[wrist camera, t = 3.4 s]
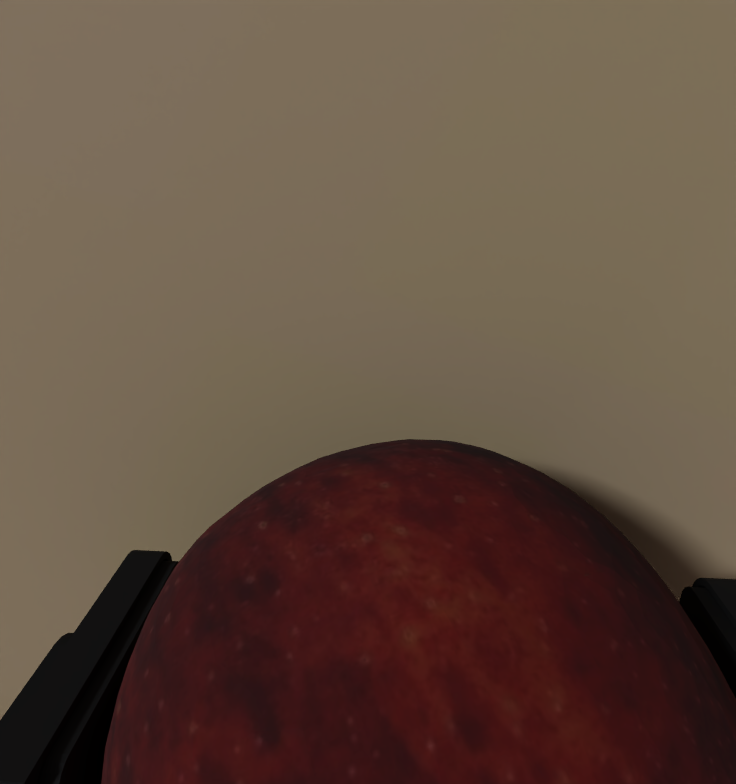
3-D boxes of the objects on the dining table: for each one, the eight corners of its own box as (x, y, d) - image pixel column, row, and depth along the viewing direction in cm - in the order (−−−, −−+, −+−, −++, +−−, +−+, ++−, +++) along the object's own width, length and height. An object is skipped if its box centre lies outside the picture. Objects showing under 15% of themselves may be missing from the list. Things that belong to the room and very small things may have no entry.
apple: (352, 772, 13) (285, 1553, 6) (123, 491, 11) (-438, 1162, 4) (690, 638, 12) (1199, 1496, 4) (496, 279, 10) (832, 728, 2)
